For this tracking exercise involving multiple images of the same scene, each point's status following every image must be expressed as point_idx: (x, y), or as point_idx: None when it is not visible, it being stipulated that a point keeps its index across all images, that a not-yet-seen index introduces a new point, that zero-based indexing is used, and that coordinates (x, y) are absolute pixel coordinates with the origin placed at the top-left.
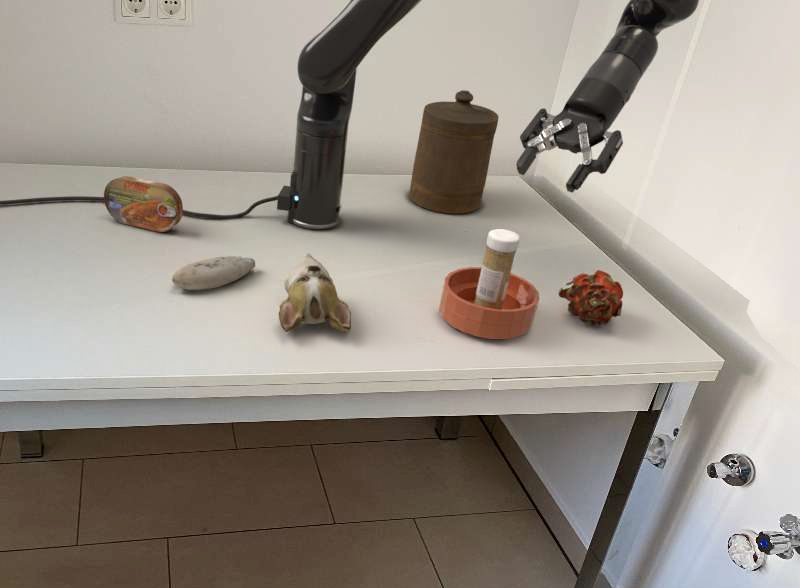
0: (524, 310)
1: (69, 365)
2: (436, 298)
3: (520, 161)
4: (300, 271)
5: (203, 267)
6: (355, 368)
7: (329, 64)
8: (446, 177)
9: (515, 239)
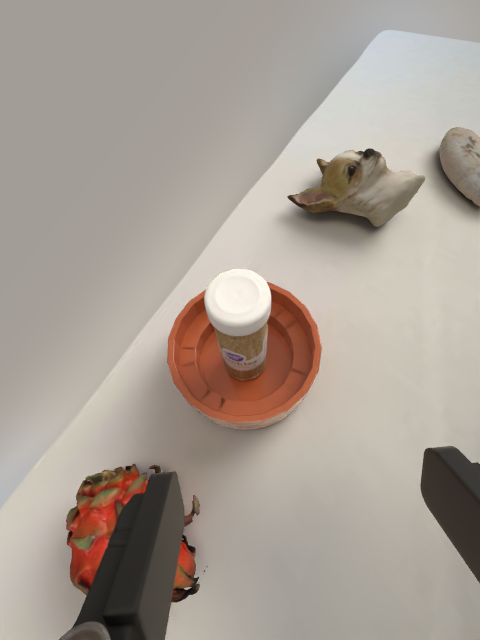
0: (170, 334)
1: (356, 78)
2: (325, 349)
3: (473, 466)
4: (393, 170)
5: (465, 142)
6: (249, 195)
7: None
8: None
9: (207, 296)
